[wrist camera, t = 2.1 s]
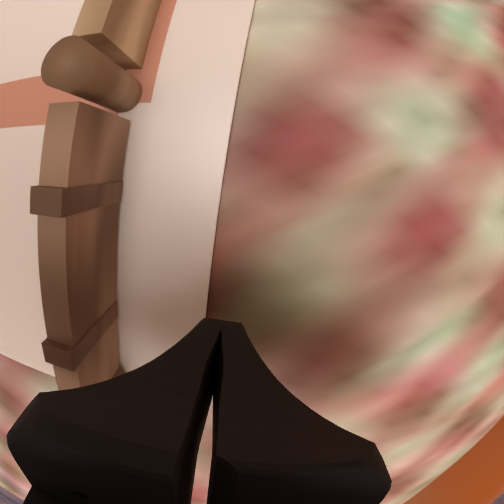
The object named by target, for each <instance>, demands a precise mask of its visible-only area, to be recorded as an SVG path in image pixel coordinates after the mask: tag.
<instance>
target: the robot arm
mask: <svg viewBox="0 0 504 504" xmlns="http://www.w3.org/2000/svg"><path fill="white" fill-rule="evenodd" d="M212 396H213V446H212V460H211V469H210V478H209V487H208V497H207V504H379V503H380V502H381V501H382V500H383V499H384V497H385V496H386V494H387V493H388V492H389V490H390V487H391V482H392V481H391V478H390V476H389V473H388V471H387V468H386V465H385V463H384V460H383V458H382V456H381V454H380V452H379V450H378V449H377V447H376V445H375V443H373V442H371V441H369V440H366V439H364V438H362V437H360V436H357V435H355V434H353V433H351V432H349V431H347V430H344V429H342V428H341V427H339V426H337V425H335V424H333V423H332V422H330V421H328V420H327V419H325V418H323V417H322V416H320V415H319V414H317V413H316V412H314V411H313V410H311V409H310V408H309V407H307V406H306V405H305V404H304V403H302V402H301V401H300V400H299V399H297V398H296V397H295V396H294V395H293V394H292V393H290V392H289V391H288V390H287V389H286V388H285V387H284V386H283V385H282V384H281V383H280V382H279V381H278V380H277V379H276V377H275V376H274V375H273V374H272V373H271V371H270V370H269V369H268V367H267V366H266V365H265V363H264V362H263V361H262V359H261V358H260V356H259V354H258V353H257V351H256V350H255V348H254V346H253V345H252V343H251V341H250V339H249V337H248V335H247V333H246V331H245V328H244V326H243V325H242V323H236V322H229V321H222V320H215V319H209V318H203V319H202V320H201V321H200V322H199V323H198V324H197V325H196V326H195V327H194V328H193V329H192V330H191V331H190V332H189V333H188V334H187V335H185V336H184V337H183V338H182V339H181V340H180V341H178V342H177V343H176V344H175V345H173V346H172V347H171V348H169V349H168V350H167V351H165V352H164V353H162V354H161V355H160V356H158V357H157V358H155V359H153V360H152V361H150V362H148V363H146V364H145V365H143V366H141V367H139V368H137V369H134V370H132V371H130V372H127V373H125V374H122V375H120V376H117V377H115V378H112V379H109V380H106V381H102V382H99V383H96V384H92V385H88V386H83V387H79V388H73V389H67V390H59V391H52V392H41V393H39V394H38V395H37V396H36V397H35V398H34V399H33V400H32V401H31V403H30V404H29V405H28V406H27V407H26V409H25V410H24V411H23V413H22V414H21V415H20V417H19V418H18V419H17V421H16V422H15V423H14V425H13V426H12V428H11V429H10V430H9V432H8V434H7V444H8V447H9V449H10V451H11V453H12V456H13V457H14V459H15V461H16V462H17V464H18V465H19V467H20V469H21V470H22V472H23V473H24V475H25V476H26V478H27V479H28V480H29V482H30V483H31V485H32V487H31V489H30V491H29V493H28V495H27V497H26V498H25V500H22V499H21V498H19V497H17V496H16V495H14V494H12V493H11V492H9V491H7V490H6V489H4V488H3V487H1V486H0V504H191V497H192V490H193V483H194V475H195V468H196V461H197V454H198V450H199V445H200V441H201V437H202V433H203V430H204V426H205V422H206V419H207V415H208V411H209V407H210V404H211V400H212ZM492 504H504V492H503V493H502V494H501V495H500V496H499V497H498V498H497V499H496V500H495V501H494V502H493V503H492Z"/></svg>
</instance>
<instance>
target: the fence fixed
mask: <svg viewBox="0 0 504 504" xmlns="http://www.w3.org/2000/svg"><path fill="white" fill-rule="evenodd" d="M161 1H162V0H85V1H84V3H83V6H82V8H81V11H80V14H79V16H78V19H77V22H76V24H75V27H74V30H73V33H72V36H67V37H64V38H62V39H61V40H59V41H58V42H56V43H55V44H54V45H53V46H52V47H51V48H50V50H49V51H48V52H47V54H46V56H45V58H44V60H43V63H42V66H41V77H42V80H43V82H44V83H45V84H46V85H47V86H50V87H52V88H55V89H58V90H61V91H63V92H66V93H69V94H72V95H74V96H77V97H80V98H82V99H85V100H87V101H90V102H92V103H95V104H98V105H100V106H103V107H105V108H108V109H110V110H112V111H115V112H118V113H124V112H128V111H130V110H132V109H133V108H134V107H135V106H136V105H137V104H138V103H139V100H140V98H141V95H142V86H141V84H140V82H139V81H138V80H137V79H136V78H135V77H133V76H132V75H131V74H129V73H128V72H127V71H125V70H124V69H142V67H143V63H144V59H145V55H146V51H147V48H148V44H149V40H150V37H151V33H152V30H153V26H154V23H155V20H156V17H157V13H158V10H159V7H160V4H161Z"/></svg>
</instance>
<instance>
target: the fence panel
mask: <svg viewBox="0 0 504 504" xmlns="http://www.w3.org/2000/svg"><path fill="white" fill-rule="evenodd" d="M129 122H130V120H128V119H125V118H123V117H120V116H118V115H115V114H112V113H110V112H107V111H105V110H102V109H99V108H97V107H94V106H91V105H89V104H86V103H83V102H80V101H73V102H60V103H49V108H48V113H47V119H46V125H45V131H44V138H43V146H42V154H41V163H40V174H39V185H37V186H31V189H30V214H34V215H38V218H37V234H38V262H39V277H40V288H41V298H42V306H43V314H44V321H45V327H46V333H47V338H46V339H45V340H44V341H43V342H42V343H41V344H42V349H43V354H44V358H45V362H47V363H50V364H53V369H54V373H55V377H56V381H57V385H58V389H59V390H67V389H73V388H79V387H83V386H88V385H92V384H96V383H99V382H102V381H106V380H109V379H112V378H115V377H117V376H120V375H122V374H125V372H124V370H123V369H122V368H121V367H120V365H119V353H118V338H117V317H118V312H117V301H116V250H117V228H118V213H119V202H120V201H121V192H122V182H123V181H121V180H122V171H123V162H124V155H125V148H126V141H127V134H128V128H129Z"/></svg>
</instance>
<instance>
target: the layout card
mask: <svg viewBox="0 0 504 504" xmlns="http://www.w3.org/2000/svg"><path fill="white" fill-rule="evenodd" d="M84 1H85V0H0V354H2V355H4V356H6V357H9V358H11V359H13V360H15V361H17V362H20V363H22V364H24V365H27V366H29V367H31V368H34V369H36V370H39V371H41V372H44V373H46V374H49V375H51V376H54V377H55V373H54V369H53V364H50V363H47V362H45V358H44V354H43V349H42V344H41V343H42V342H43V341H44V340H45V339H46V338H47V333H46V327H45V321H44V314H43V306H42V298H41V288H40V277H39V262H38V234H37V218H38V215H34V214H30V189H31V186H37V185H39V174H40V163H41V154H42V146H43V138H44V131H45V125H46V119H47V113H48V108H49V103H60V102H73V101H80V102H83V103H86V104H89V105H91V106H94V107H97V108H99V109H102V110H105V111H107V112H110V113H112V114H115V115H118V116H120V117H123V118H125V119H128V120H130V122H129V128H128V134H127V141H126V148H125V155H124V162H123V171H122V180H121V181H123V182H122V192H121V201H120V202H119V213H118V228H117V250H116V301H117V312H118V317H117V338H118V353H119V365H120V367H121V368H122V369H123V370H124V372H125V373H127V372H130V371H132V370H134V369H137V368H139V367H141V366H143V365H145V364H146V363H148V362H150V361H152V360H153V359H155V358H157V357H158V356H160V355H161V354H162V353H164V352H165V351H167V350H168V349H169V348H171V347H172V346H173V345H175V344H176V343H177V342H178V341H180V340H181V339H182V338H183V337H184V336H185V335H187V334H188V333H189V332H190V331H191V330H192V329H193V328H194V327H195V326H196V325H197V324H198V323H199V322H200V321H201V320H202V319H203V318H206V309H207V300H208V291H209V283H210V274H211V266H212V258H213V250H214V242H215V234H216V227H217V219H218V212H219V205H220V198H221V191H222V184H223V177H224V170H225V164H226V157H227V151H228V145H229V138H230V132H231V126H232V120H233V114H234V109H235V103H236V97H237V91H238V86H239V80H240V75H241V70H242V64H243V59H244V54H245V49H246V44H247V39H248V34H249V29H250V24H251V19H252V14H253V9H254V5H255V0H162V1H161V4H160V7H159V10H158V13H157V17H156V20H155V23H154V26H153V30H152V33H151V37H150V40H149V44H148V48H147V51H146V55H145V59H144V63H143V67H142V69H124V70H125V71H127V72H128V73H129V74H131V75H132V76H133V77H135V78H136V79H137V80H138V81H139V82H140V84H141V86H142V95H141V98H140V100H139V103H138V104H137V105H136V106H135V107H134V108H133V109H132V110H130V111H128V112H124V113H118V112H115V111H112V110H110V109H108V108H105V107H103V106H100V105H98V104H95V103H92V102H90V101H87V100H85V99H82V98H80V97H77V96H74V95H72V94H69V93H66V92H63V91H61V90H58V89H55V88H52V87H50V86H47V85H46V84H45V83H44V82H43V80H42V77H41V66H42V63H43V60H44V58H45V56H46V54H47V52H48V51H49V50H50V48H51V47H52V46H53V45H54V44H55V43H56V42H58V41H59V40H61V39H62V38H64V37H67V36H72V33H73V30H74V27H75V24H76V22H77V19H78V16H79V14H80V11H81V8H82V6H83V3H84Z"/></svg>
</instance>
